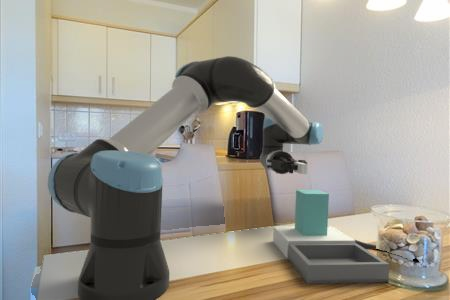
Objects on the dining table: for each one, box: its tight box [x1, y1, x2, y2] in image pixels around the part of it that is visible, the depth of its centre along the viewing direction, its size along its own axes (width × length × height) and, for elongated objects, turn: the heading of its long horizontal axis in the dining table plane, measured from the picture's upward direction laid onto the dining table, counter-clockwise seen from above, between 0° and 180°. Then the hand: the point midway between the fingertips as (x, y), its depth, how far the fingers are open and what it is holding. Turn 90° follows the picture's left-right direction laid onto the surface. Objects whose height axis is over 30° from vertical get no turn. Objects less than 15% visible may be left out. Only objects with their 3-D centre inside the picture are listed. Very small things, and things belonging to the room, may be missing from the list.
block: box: [294, 189, 330, 235], centre depth 79 cm, size 6×6×10 cm
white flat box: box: [272, 225, 356, 260], centre depth 78 cm, size 16×12×4 cm
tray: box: [287, 243, 390, 285], centre depth 66 cm, size 16×12×4 cm
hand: (304, 169), depth 85 cm, fingers closed
